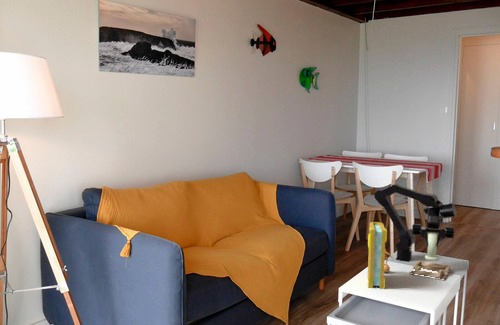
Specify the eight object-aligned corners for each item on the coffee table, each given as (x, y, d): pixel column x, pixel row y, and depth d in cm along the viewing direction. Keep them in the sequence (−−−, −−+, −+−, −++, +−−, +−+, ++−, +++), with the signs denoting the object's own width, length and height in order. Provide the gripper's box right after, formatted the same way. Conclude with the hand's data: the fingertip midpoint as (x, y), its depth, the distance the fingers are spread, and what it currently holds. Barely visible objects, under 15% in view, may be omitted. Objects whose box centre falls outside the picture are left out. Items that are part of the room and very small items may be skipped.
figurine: (395, 273, 218) (396, 248, 217) (390, 276, 213) (391, 250, 213) (378, 269, 223) (379, 245, 222) (373, 272, 219) (374, 247, 218)
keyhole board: (409, 274, 217) (410, 269, 217) (417, 265, 232) (418, 260, 232) (444, 280, 209) (444, 275, 209) (450, 270, 224) (450, 265, 224)
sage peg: (423, 259, 221) (424, 234, 220) (426, 256, 226) (427, 232, 225) (436, 261, 218) (438, 236, 217) (439, 258, 223) (440, 233, 222)
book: (384, 289, 197) (386, 230, 195) (368, 287, 198) (370, 229, 196) (381, 276, 213) (383, 222, 211) (366, 275, 215) (368, 221, 213)
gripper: (413, 207, 228) (411, 234, 218) (455, 210, 221) (454, 238, 211) (413, 220, 236) (411, 247, 226) (453, 223, 229) (453, 251, 219)
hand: (432, 245), depth 221 cm, fingers closed on sage peg, 4 cm apart
